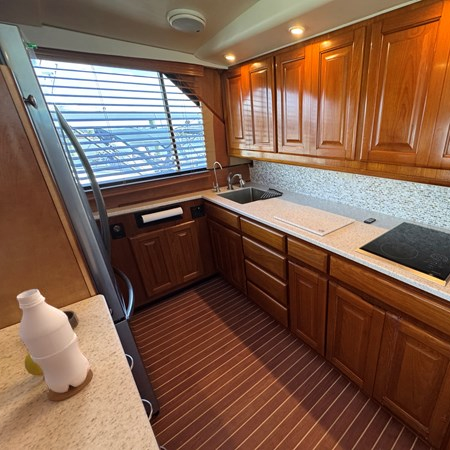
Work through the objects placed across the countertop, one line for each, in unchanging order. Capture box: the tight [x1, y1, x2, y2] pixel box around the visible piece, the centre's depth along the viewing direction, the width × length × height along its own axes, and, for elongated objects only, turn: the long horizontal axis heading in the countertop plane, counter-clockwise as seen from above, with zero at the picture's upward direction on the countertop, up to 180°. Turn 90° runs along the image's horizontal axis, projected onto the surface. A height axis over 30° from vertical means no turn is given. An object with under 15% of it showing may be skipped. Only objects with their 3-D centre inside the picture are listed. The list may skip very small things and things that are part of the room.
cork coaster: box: [47, 367, 94, 403], centre depth 56 cm, size 8×8×1 cm
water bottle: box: [16, 288, 90, 393], centre depth 51 cm, size 7×7×25 cm
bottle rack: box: [61, 310, 80, 331], centre depth 72 cm, size 9×9×3 cm
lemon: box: [24, 352, 44, 377], centre depth 57 cm, size 6×6×8 cm
